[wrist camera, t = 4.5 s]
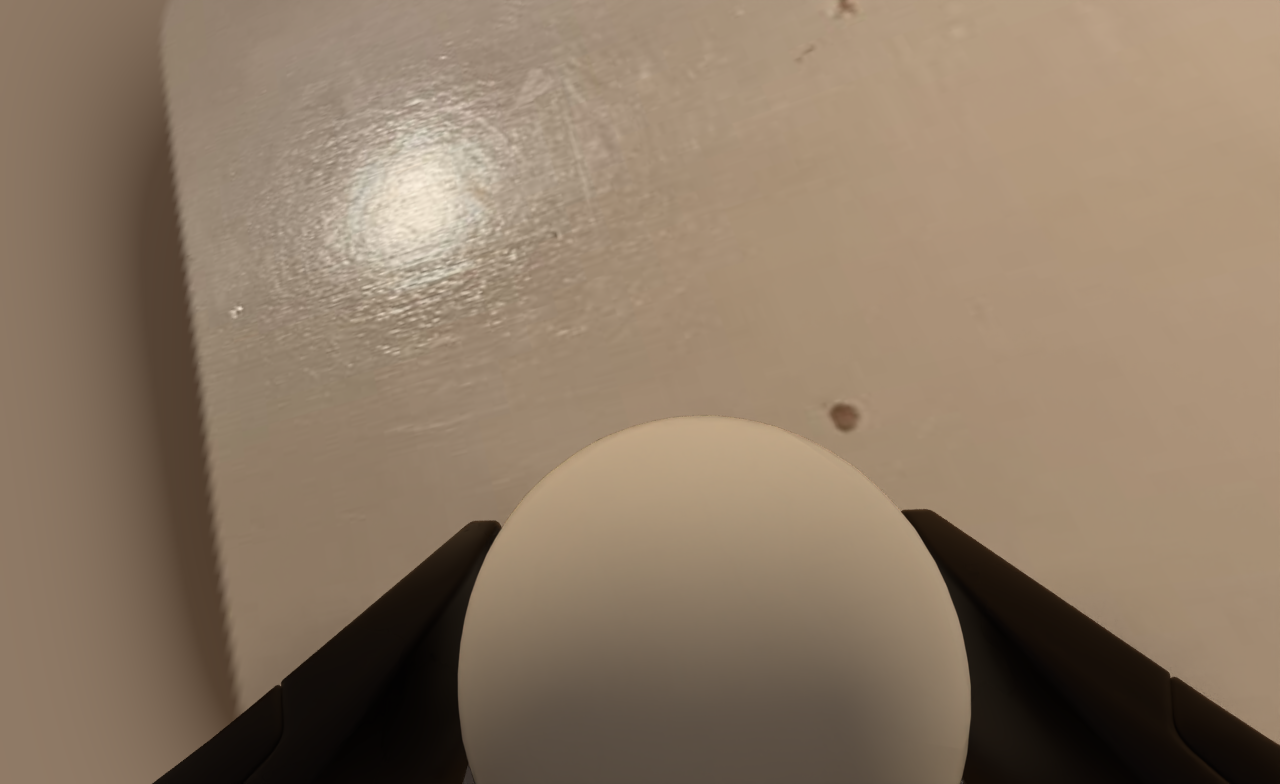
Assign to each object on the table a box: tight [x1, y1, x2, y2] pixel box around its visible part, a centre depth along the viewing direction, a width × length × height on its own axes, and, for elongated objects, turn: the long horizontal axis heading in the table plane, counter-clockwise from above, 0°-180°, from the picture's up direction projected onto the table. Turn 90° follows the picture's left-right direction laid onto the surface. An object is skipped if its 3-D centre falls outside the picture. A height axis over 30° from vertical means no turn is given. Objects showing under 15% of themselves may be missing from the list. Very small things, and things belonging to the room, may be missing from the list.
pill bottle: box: [458, 415, 971, 784], centre depth 10 cm, size 6×6×10 cm
